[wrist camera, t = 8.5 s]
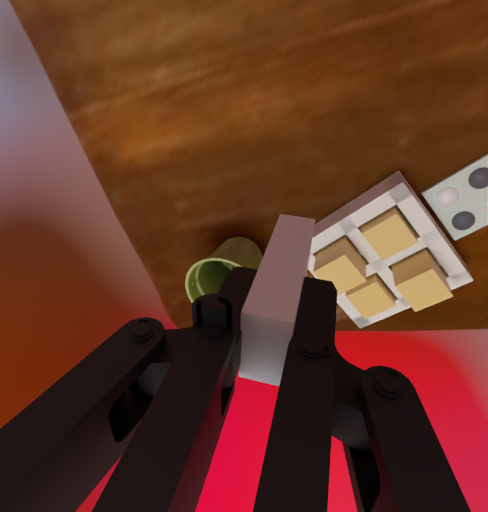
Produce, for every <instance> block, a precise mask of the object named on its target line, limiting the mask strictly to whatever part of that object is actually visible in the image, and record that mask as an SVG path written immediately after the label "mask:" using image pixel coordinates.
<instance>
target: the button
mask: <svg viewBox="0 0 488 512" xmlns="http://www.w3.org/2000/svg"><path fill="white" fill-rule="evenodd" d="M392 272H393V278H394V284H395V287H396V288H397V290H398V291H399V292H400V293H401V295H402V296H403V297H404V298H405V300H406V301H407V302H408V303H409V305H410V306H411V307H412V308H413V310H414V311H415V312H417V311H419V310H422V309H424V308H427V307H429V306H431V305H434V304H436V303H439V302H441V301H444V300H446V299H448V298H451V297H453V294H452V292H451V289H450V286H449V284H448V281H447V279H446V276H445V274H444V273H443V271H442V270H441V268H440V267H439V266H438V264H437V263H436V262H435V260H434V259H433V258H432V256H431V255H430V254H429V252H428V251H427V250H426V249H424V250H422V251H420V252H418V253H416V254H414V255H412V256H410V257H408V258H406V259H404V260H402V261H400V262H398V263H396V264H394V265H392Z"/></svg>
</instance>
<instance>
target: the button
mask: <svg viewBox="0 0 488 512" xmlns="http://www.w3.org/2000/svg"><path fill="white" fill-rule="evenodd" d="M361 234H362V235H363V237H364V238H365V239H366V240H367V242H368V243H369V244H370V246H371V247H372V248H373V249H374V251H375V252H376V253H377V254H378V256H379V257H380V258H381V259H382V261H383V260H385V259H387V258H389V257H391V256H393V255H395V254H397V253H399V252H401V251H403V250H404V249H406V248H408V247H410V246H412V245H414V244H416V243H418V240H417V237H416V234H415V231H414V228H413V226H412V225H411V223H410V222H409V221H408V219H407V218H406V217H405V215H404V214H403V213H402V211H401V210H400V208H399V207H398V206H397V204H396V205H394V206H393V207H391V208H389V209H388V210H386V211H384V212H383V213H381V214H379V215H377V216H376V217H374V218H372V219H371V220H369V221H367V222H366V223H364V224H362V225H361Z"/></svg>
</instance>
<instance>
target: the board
mask: <svg viewBox="0 0 488 512" xmlns="http://www.w3.org/2000/svg"><path fill="white" fill-rule="evenodd" d="M396 204H397V206H398V207H399V208H400V210H401V211H402V213H403V214H404V215H405V217H406V218H407V219H408V221H409V222H410V223H411V225H412V226H413V228H414V231H415V234H416V237H417V240H418V243H416V244H414V245H412V246H410V247H408V248H406V249H404V250H403V251H401V252H399V253H397V254H395V255H393V256H391V257H389V258H387V259H385V260H383V261H382V259H381V258H380V257H379V256H378V254H377V253H376V252H375V251H374V249H373V248H372V247H371V246H370V244H369V243H368V242H367V240H366V239H365V238H364V237H363V235H362V234H361V225H362V224H364V223H366V222H367V221H369V220H371V219H372V218H374V217H376V216H377V215H379V214H381V213H383V212H384V211H386V210H388V209H389V208H391V207H393V206H394V205H396ZM345 236H346V238H347V239H348V240H349V241H350V243H351V244H352V245H353V246H354V248H355V249H356V250H357V251H358V253H359V254H360V255H361V256H362V258H363V259H364V260H365V261H366V276H367V277H368V276H370V275H372V274H374V273H376V272H377V273H378V275H379V276H380V277H381V278H382V280H383V281H384V282H385V283H386V285H387V286H388V287H389V288H390V289H391V291H392V292H393V293H394V298H395V304H396V306H394V307H392V308H390V309H387V310H385V311H383V312H381V313H378V314H376V315H374V316H371V317H369V318H367V319H364V317H363V316H362V315H361V314H360V313H359V312H358V310H357V309H356V308H355V307H354V306H353V305H352V303H351V302H350V301H349V300H348V299H347V298H346V292H344V293H342V294H340V295H338V296H337V303H338V304H339V305H340V306H341V308H342V309H343V310H344V311H345V312H346V313H347V314H348V316H349V317H350V318H351V319H352V320H353V321H354V323H355V324H356V325H357V326H358V327H359V328H363V327H365V326H367V325H370V324H372V323H374V322H377V321H379V320H382V319H384V318H386V317H389V316H391V315H393V314H396V313H398V312H400V311H403V310H405V309H408V308H410V307H411V306H410V305H409V303H408V302H407V301H406V300H405V298H404V297H403V296H402V295H401V293H400V292H399V291H398V290H397V288H396V287H395V284H394V278H393V272H392V265H394V264H396V263H398V262H400V261H402V260H404V259H406V258H408V257H410V256H412V255H414V254H416V253H418V252H420V251H422V250H424V249H426V250H427V251H428V252H429V254H430V255H431V256H432V258H433V259H434V260H435V262H436V263H437V264H438V266H439V267H440V268H441V270H442V271H443V273H444V274H445V276H446V279H447V281H448V284H449V286H450V289H451V290H453V289H455V288H457V287H460V286H462V285H464V284H467V283H469V282H471V281H474V280H473V278H472V276H471V274H470V272H469V270H468V268H467V266H466V264H465V262H464V261H463V260H462V258H461V257H460V255H459V254H458V253H457V251H456V250H455V248H454V247H453V246H452V244H451V243H450V241H449V240H448V238H447V237H446V236H445V234H444V233H443V231H442V230H441V229H440V227H439V226H438V224H437V223H436V222H435V220H434V219H433V217H432V216H431V215H430V213H429V212H428V210H427V209H426V208H425V206H424V205H423V203H422V202H421V200H420V199H419V198H418V196H417V195H416V193H415V192H414V191H413V189H412V188H411V186H410V185H409V184H408V182H407V181H406V179H405V178H404V177H403V175H402V174H401V172H400V171H397V172H396V173H394V174H392V175H391V176H389V177H388V178H386V179H385V180H383V181H382V182H380V183H378V184H377V185H375V186H374V187H372V188H371V189H369V190H368V191H366V192H364V193H363V194H361V195H360V196H358V197H357V198H355V199H354V200H352V201H350V202H349V203H347V204H346V205H344V206H343V207H341V208H340V209H338V210H336V211H335V212H333V213H332V214H330V215H329V216H327V217H326V218H324V219H322V220H321V221H319V222H318V223H316V224H315V225H314V230H313V237H312V243H311V250H310V256H309V262H308V270H309V271H310V272H311V273H312V274H313V275H314V277H315V278H316V279H319V278H318V277H317V276H316V275H315V274H314V272H313V270H314V264H315V258H316V253H318V252H319V251H321V250H323V249H324V248H326V247H328V246H329V245H331V244H333V243H335V242H336V241H338V240H340V239H341V238H343V237H345Z"/></svg>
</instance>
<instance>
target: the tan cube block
mask: <svg viewBox="0 0 488 512" xmlns="http://www.w3.org/2000/svg"><path fill="white" fill-rule="evenodd" d="M346 298H347V299H348V300H349V301H350V302H351V303H352V305H353V306H354V307H355V308H356V309H357V310H358V312H359V313H360V314H361V315H362V316H363V317H364V319H367V318H369V317H371V316H374V315H376V314H378V313H381V312H383V311H385V310H387V309H390V308H392V307H394V306H396V304H395V298H394V293H393V292H392V291H391V289H390V288H389V287H388V286H387V285H386V283H385V282H384V281H383V280H382V278H381V277H380V276H379V275H378V273H377V272H376V273H374V274H372V275H370V276H368V277H367V282H365V283H363V284H361V285H358V286H356V287H354V288H352V289H350V290H348V291H346Z"/></svg>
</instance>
